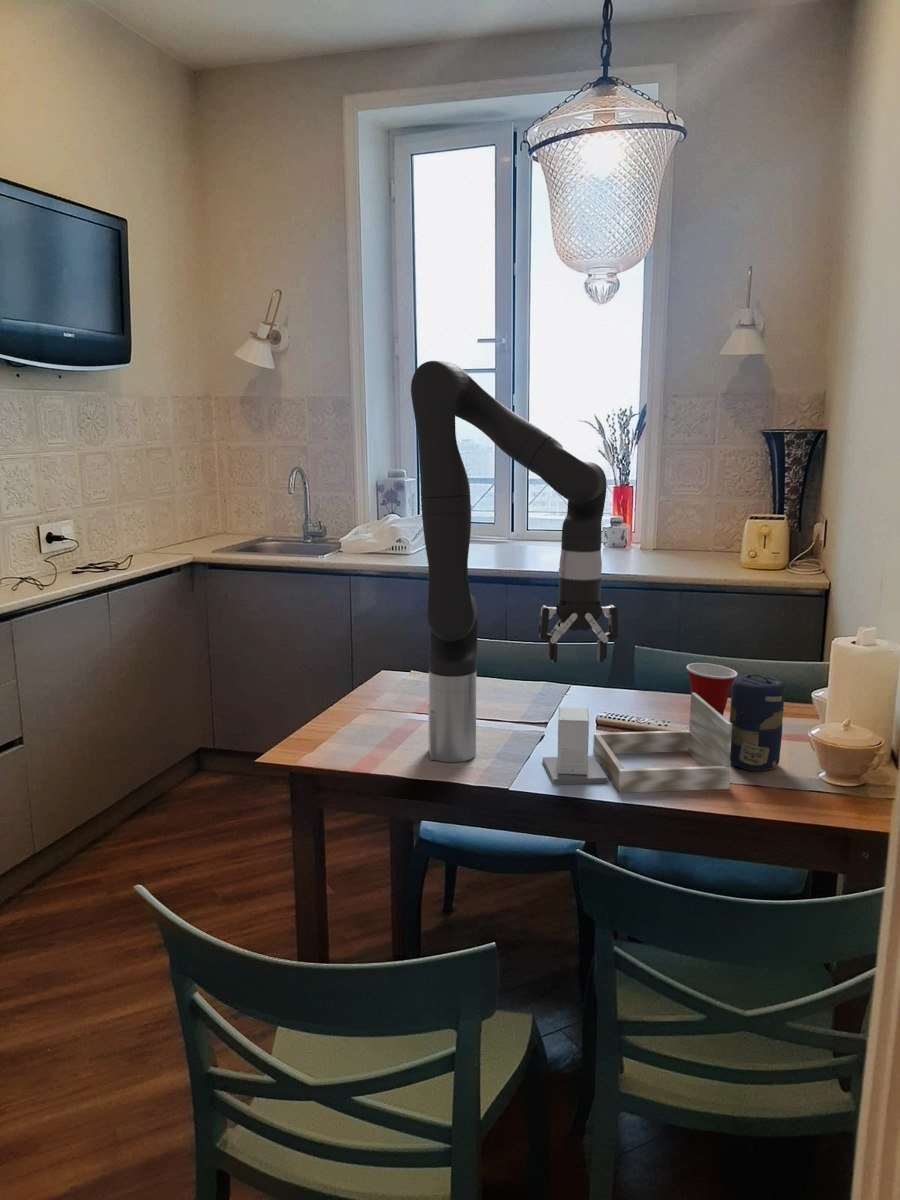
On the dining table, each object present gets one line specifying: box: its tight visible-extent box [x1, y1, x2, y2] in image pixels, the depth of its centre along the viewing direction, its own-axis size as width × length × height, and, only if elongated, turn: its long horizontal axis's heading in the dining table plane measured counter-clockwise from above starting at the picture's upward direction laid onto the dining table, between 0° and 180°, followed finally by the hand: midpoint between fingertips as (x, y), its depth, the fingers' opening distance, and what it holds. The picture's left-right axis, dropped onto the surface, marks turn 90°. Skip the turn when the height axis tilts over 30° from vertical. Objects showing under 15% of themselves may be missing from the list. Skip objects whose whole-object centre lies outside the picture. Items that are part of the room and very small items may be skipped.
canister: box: [729, 673, 786, 771], centre depth 170 cm, size 10×10×18 cm
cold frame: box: [592, 692, 732, 793], centre depth 168 cm, size 20×20×12 cm
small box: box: [557, 706, 590, 775], centre depth 167 cm, size 8×6×10 cm
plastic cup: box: [686, 662, 738, 717], centre depth 196 cm, size 11×11×12 cm
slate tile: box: [542, 755, 609, 785], centre depth 168 cm, size 10×11×1 cm
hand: (577, 661), depth 164 cm, fingers open, 8 cm apart
